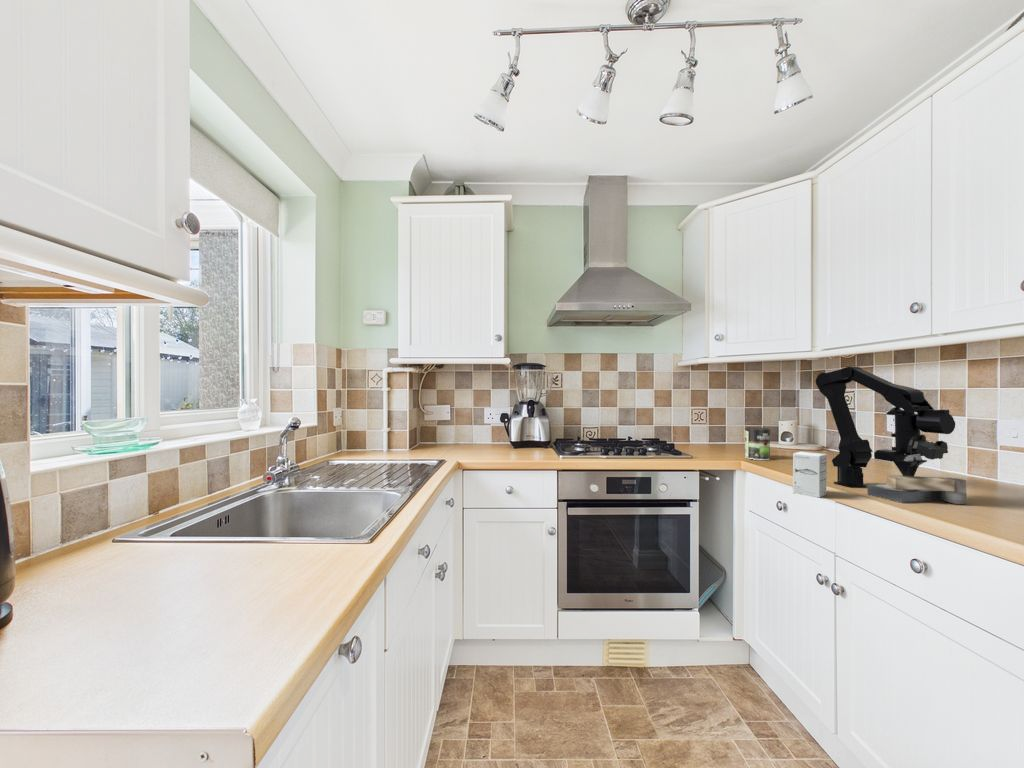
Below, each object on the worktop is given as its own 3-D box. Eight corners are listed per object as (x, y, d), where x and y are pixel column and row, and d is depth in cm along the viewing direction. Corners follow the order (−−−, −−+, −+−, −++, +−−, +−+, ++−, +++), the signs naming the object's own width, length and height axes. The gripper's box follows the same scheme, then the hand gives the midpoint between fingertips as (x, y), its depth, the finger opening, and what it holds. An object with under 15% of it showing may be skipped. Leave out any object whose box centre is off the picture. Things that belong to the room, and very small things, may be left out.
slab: (867, 494, 136) (867, 483, 136) (919, 491, 140) (919, 481, 140) (901, 503, 127) (901, 491, 127) (956, 499, 131) (956, 488, 131)
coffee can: (775, 460, 200) (775, 429, 201) (755, 461, 198) (755, 429, 198) (758, 456, 211) (758, 427, 211) (739, 457, 208) (739, 427, 209)
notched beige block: (959, 500, 128) (959, 478, 128) (970, 504, 124) (970, 481, 124) (887, 496, 133) (886, 475, 133) (895, 500, 128) (895, 477, 128)
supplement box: (791, 493, 137) (791, 453, 138) (800, 490, 142) (800, 450, 142) (819, 498, 132) (819, 455, 132) (827, 494, 137) (827, 453, 137)
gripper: (912, 435, 123) (914, 491, 123) (963, 431, 127) (965, 486, 127) (872, 431, 134) (873, 483, 134) (920, 428, 138) (921, 478, 138)
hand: (909, 482), depth 133 cm, fingers closed
